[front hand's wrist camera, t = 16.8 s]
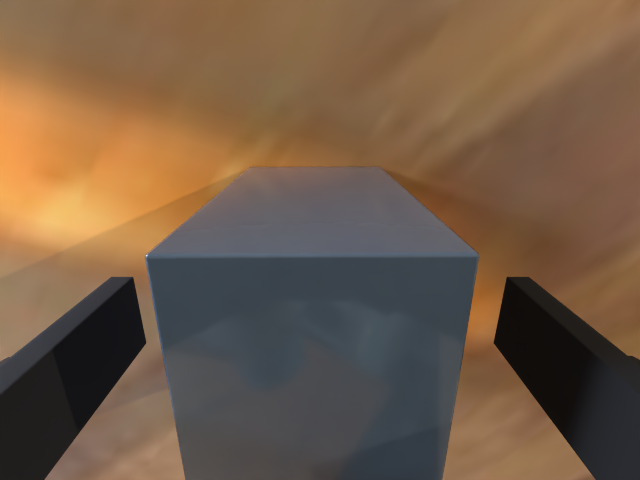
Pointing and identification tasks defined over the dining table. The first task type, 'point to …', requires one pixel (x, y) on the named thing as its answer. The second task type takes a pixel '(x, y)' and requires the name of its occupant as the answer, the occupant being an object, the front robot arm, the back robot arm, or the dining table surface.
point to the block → (313, 328)
